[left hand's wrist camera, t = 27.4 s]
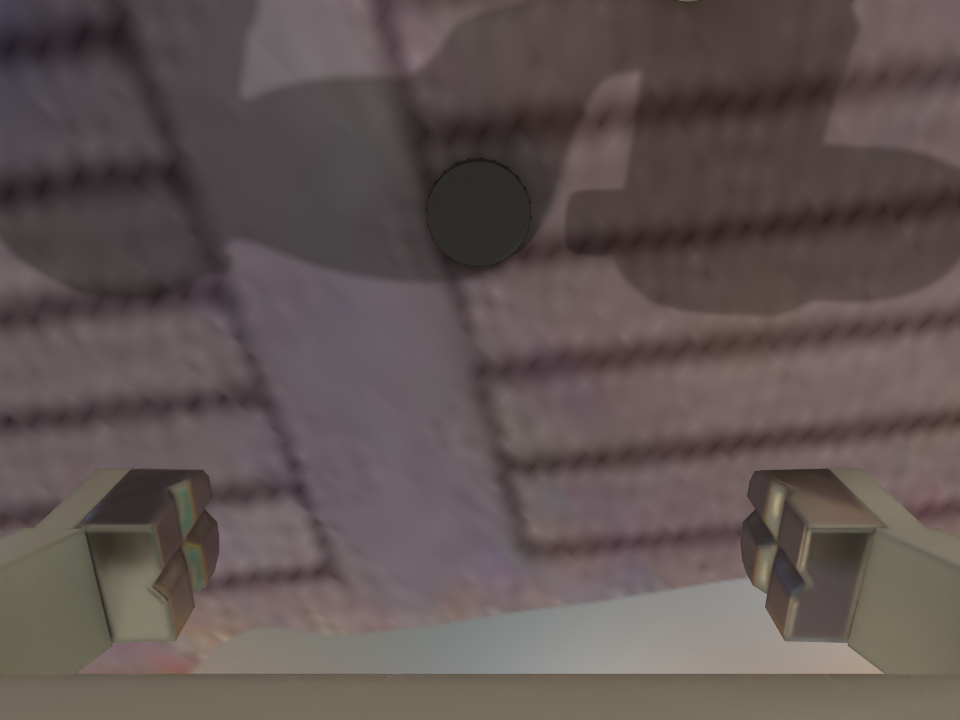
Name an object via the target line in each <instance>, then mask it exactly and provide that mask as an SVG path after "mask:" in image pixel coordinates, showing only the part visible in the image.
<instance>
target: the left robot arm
mask: <svg viewBox="0 0 960 720" xmlns="http://www.w3.org/2000/svg"><path fill="white" fill-rule="evenodd" d="M212 497H213V494H212V489H211V484H210V480H209V476H208V475H207V474H206V473H205V472H204V471H203V470H182V469H134V468H113V469H99V470H95V471H94V472H93V473H92V474H91V475H90V476H89V477H88V478H87V479H86V480H85V481H84V482H83V483H82V484H80V485H79V486H78V487H77V488H76V489H75V490H74V491H73V492H72V493H71V494H70V495H69V496H68V497H67V498H66V499H64V500H63V501H62V502H61V503H60V504H59V505H58V506H57V507H56V508H55V509H54V510H53V511H52V512H51V513H50V514H49V515H47V516H46V517H45V518H44V519H43V520H42V521H41V522H40V523H39V524H38V525H37V526H36V527H35V528H28V529H20V530H18V531H15V532H13V533H11V534H8V535H6V536H3V537H1V538H0V720H960V538H959V537H957V536H954V535H952V534H949V533H947V532H945V531H942V530H940V529H933V528H925V527H924V526H923V525H922V524H921V523H920V522H919V521H918V520H917V519H916V518H915V517H914V516H913V515H912V514H910V513H909V512H908V511H907V510H906V509H905V508H904V507H903V506H902V505H901V504H900V503H899V502H898V501H897V500H896V499H895V498H894V497H892V496H891V495H890V494H889V493H888V492H887V491H886V490H885V489H884V488H883V487H882V486H881V485H880V484H879V483H878V482H877V481H876V480H874V479H873V478H872V477H871V476H870V475H869V474H868V473H867V472H866V471H864V470H861V469H858V468H840V469H795V470H761V471H754V473H753V475H752V478H751V480H750V483H749V489H748V494H747V497H748V498H749V500H750V501H751V503H752V505H753V506H754V508H755V510H754V511H753V512H752V513H751V514H750V515H749V516H748V517H747V518H746V519H745V520H744V522H743V526H742V534H741V551H742V561H743V564H744V567H745V570H746V573H747V575H748V577H749V579H750V581H751V583H752V584H753V586H755V587H757V588H758V589H760V590H761V591H763V592H764V593H766V594H767V599H766V605H765V607H766V609H767V611H768V613H769V614H770V616H771V618H772V620H773V621H774V623H775V625H776V627H777V628H778V630H779V632H780V633H781V635H782V637H783V639H784V640H785V641H800V642H836V643H848V646H849V647H850V648H852V649H853V650H854V651H856V652H857V653H858V654H859V655H861V656H862V657H863V658H865V659H866V660H867V661H869V662H870V663H871V664H873V665H874V666H875V667H877V668H878V669H879V670H880V671H882V672H883V673H884V674H76V673H77V672H78V671H80V670H81V669H82V668H84V667H85V666H86V665H88V664H89V663H90V662H92V661H93V660H94V659H96V658H97V657H98V656H100V655H101V654H102V653H103V652H105V651H106V650H107V649H109V648H110V647H111V646H112V643H124V642H159V641H176V639H177V637H178V635H179V634H180V632H181V630H182V628H183V627H184V625H185V623H186V621H187V620H188V618H189V616H190V614H191V613H192V611H193V609H194V607H195V605H194V599H193V594H194V593H196V592H197V591H199V590H200V589H202V588H204V587H205V586H207V584H208V583H209V581H210V579H211V577H212V575H213V573H214V571H215V567H216V563H217V558H218V554H219V532H218V525H217V522H216V520H215V519H214V518H213V517H212V516H211V515H210V514H209V513H208V512H207V511H206V510H205V508H206V506H207V505H208V503H209V501H210V500H211V498H212Z"/></svg>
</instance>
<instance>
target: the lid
mask: <svg viewBox="0 0 960 720" xmlns="http://www.w3.org/2000/svg"><path fill="white" fill-rule="evenodd" d="M519 179H520V178H519V177H518V175H517V176H516V175H515V174H514V173H513V172H512V171H510V170H509V167H508V166H506V167H505V166H503V165H502V164H499V163H497V161H496V160H494V161H491V160H486V159H483V157H481V159H472V160H469V158H468V159H467V161H463V162H460V163H458V164H457V163H455V164H454V166H453V167H451V168H450V169H448V170H447V171H444V172H443V175H442V176H441V177H440V178H439V180H438V181H436V182H435V183H434V186H435V187H434V188H433V190H432V192H431V193H430V194H429V196H428V198H429V201H428V206H427V209H426V212H427V221H428V223H427V225H428V227H429V230H430V233H431V235H432V238H433V239H434V241H435V243H436V244H437V245H438V247H439V248H440V249H441V250H442V251H443V252H444V253H445V254H446V255H447V256H449V257H450V258H452V259H454V260H455V261H457V262H460V263H462V264H466V265H470V266H487V265H492V264H495V263H498V262H500V261H502V260H504V259H506V258H508V257H509V256H510V255H511V254H513V253H514V252H515V251H516V250H517V249H518V247H519V246H520V245H521V244H522V243H523V240H524V239H525V237H526V234H527V232H528V231H529V225H530V218H531V210H530V204H531V202H530V200H529V199H528V196H527V193H526V191H527V190H526V188H525V186H524V187H523V185H522V184H521V182H520V180H519Z"/></svg>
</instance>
